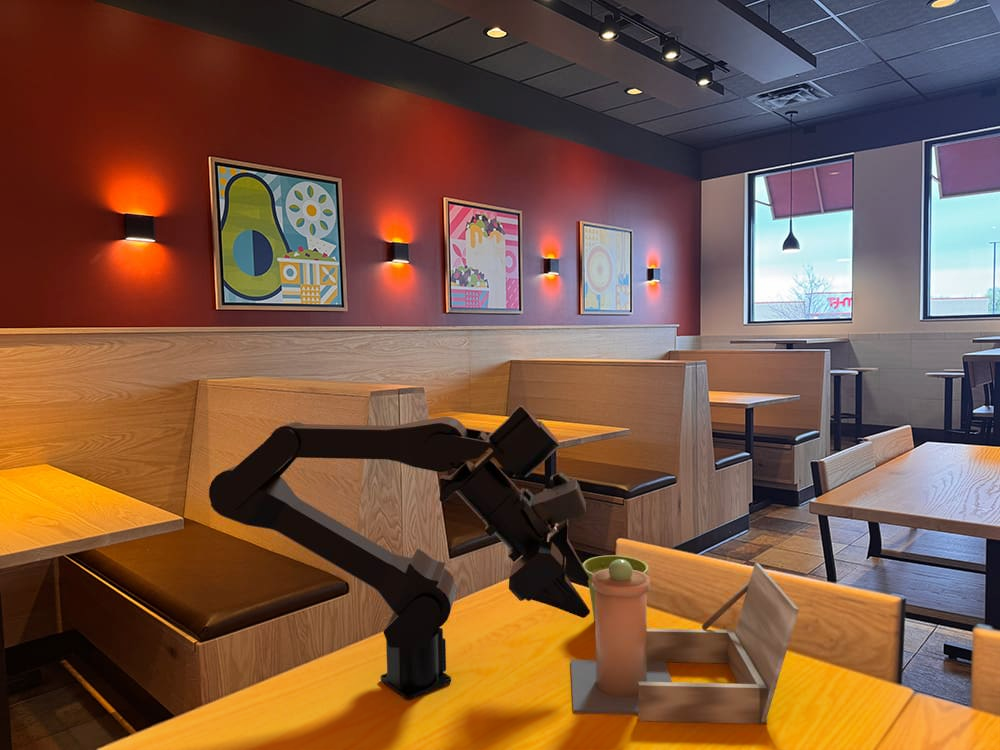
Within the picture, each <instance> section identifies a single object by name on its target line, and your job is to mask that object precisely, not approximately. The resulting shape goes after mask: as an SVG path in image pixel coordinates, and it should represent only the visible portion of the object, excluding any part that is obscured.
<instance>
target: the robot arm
mask: <svg viewBox="0 0 1000 750" xmlns="http://www.w3.org/2000/svg"><path fill="white" fill-rule="evenodd" d="M561 446H562V445H561V443H560V442H559V441H558V439H557V438H556V436H555V435H554V434H553V433H552V432H551V431H550V429H549V428H548V427H547V426H546V425H545V424H544V423H543V422H542V420H538V419H537V418H536V417H535V416H534V415H533V414H532V413H531V412H530V411H528V410H527V408H526V407H524V406H523V405H522V404H521V405H520V404H519V405H518V406H517V408H515V409H514V410H513V411H512V413H511V414H510V416H509V417H508V418H507V419H506V420H504V422H502V423H501V424H500V425H499V426H498V427H497V428H496V429H495V430H494V431H493V432H491V431H490V432H489V431H485V430H480V429H479V430H478V429H474V428H469V427H468V428H467V427H466V426H465V425H464V424H462V422H460V420H459V419H457V418H454V417H452V416H451V417H449V416H441V417H435V418H434V417H433V418H428V419H422V420H417V421H413V422H407V423H402V424H397V425H370V424H369V425H364V424H318V423H317V424H313V423H309V424H308V423H303V422H298V421H293V422H288V423H286V424H284V425H281V426H279V427H277V428H275V429H274V430H273V432H272V433H271V435H269V437H268V438H266V439H265V441H264V442H263V443H261V444H260V445H259V446H258V447H257V448H256V449H255V450H253V451H252V452H251V453H250V454H248V456H247V457H245V458H244V459H242V461H241V462H239V464H237V465H235V466H234V465H233V466H232V467H230V468H228V469H225V470H223V471H221V472H220V473H218V474H217V475H215V477H214V478H213V479H212V480H211V483H210V484H209V488H208V498H209V501H210V507H211V508H212V509H213V511H215V513H217V514H218V515H219V516H220V517H223V518H226V519H229V520H231V521H234V522H237V523H239V524H242V525H245V526H246V527H247V526H248V527H254V528H261V529H267V530H271V531H272V530H273V531H275V532H277V533H279V534H280V535H282V536H284V537H286V538H287V539H289V540H291V541H292V542H294V543H296V544H297V545H299V546H301V547H303V548H304V549H306V550H308V551H310V552H311V553H313V554H314V555H317V556H318V557H320V558H321V559H323V560H325V561H326V562H329V563H330V564H332V565H334V566H335V567H337V568H338V569H340V570H342V571H344V572H345V573H347V574H348V575H350V576H353V577H354V578H356V579H357V580H358V581H359V580H360V582H362V583H364V584H366V585H368V586H369V587H371V588H373V589H374V590H375V591H376V592H377V593H378V594H379V595H380V597H381V598H382V599H383V600H384V602H385V603H386V604H387V606H388V607H389V609H390V610H391V611H392V613H391V616H390V617H389V619H388V622H387V624H386V625H385V627H384V630H383V635H384V638H385V640H386V641H385V644H386V646H385V649H386V673H383V674H381V675H380V681H381V682H383V683H384V684H385V685H386V686H388V687H390V688H391V690H393V691H395V693H397V694H399V695H400V696H401V697H402V698H404V699H406V700H411V699H413V698H416V697H418V696H420V695H423V694H425V693H429V692H431V691H433V690H436V689H438V688H441V687H443V686H445V685H448V684H450V683H451V682H452V676H450V675H449V674H447V673H445V672H446V670H447V647H446V645H447V644H446V638H445V637H444V629H443V628H442V627H443V625H445V623H447V621H448V620H449V617H450V614H451V612H452V608H453V604H454V601H455V597H456V594H457V592H456V591H457V585H456V582H455V579H454V576H453V575H452V574H451V572H450V571H449V570H447V569H446V568H445V567H446V563H445V562H443V561H437V560H435V559H433V558H432V557H431V556H429V555H428V554H427V553H426V552H424V551H423V550H421V549H419V548H417V549H416V550H415V551H414V553H413V555H412V557H408V556H403V555H402V556H401V555H398V554H395V553H392V552H391V551H389V550H388V549H386V548H385V547H382V546H381V545H379V544H377V543H376V542H374V541H372V540H371V539H368V538H367V537H365V536H363V535H362V534H360V533H359V532H357V531H355V530H353V529H352V528H350V527H348V526H346V525H344V524H343V523H342V522H340V521H338V520H336V519H335V518H334V517H331V516H329V515H328V514H326V513H324V512H322V511H321V510H319V509H318V508H316V507H315V506H312V505H311V504H309V503H307V502H306V501H304V500H302V499H301V498H299V496H297V495H296V493H295V492H294V491H293V489H292V488H291V487H290V486H289V484H288V482H286V480H285V479H284V478H283V477H282V475H283V474H284V473H285V472H286V471H287V470H288V469H289V468H290V467H291V466H292V464H293V463H294V462H295V461H296V459H297V458H298V459H299V458H302V459H304V458H305V459H309V458H310V459H344V460H345V459H352V460H388V461H392V462H398V463H401V464H403V465H406V466H409V467H412V468H416V469H423V470H427V471H432V472H438V473H443V472H444V473H445V472H449V471H451V470H454V468H456V467H457V466H458V465H459V464H460V463H461V462H463V461H464V464H462V465H461V466H460V467H459V468H458V469H457V470H456V471H455V472H454V473H452V474H451V475H446V474H445V475H444V474H442V475H441V476H440V477H439V479H438V483H439V486H440V491H439V502H441V503H445V502H446V501H447V500H448V499H449V498H451V497H452V496H453V494H455V493H456V494H457V495H458V496H459V497H460V498H461V500H463V501H464V502H465V504H467V506H468V507H469V508H470V509H471V510H472V511H473V512H474V514H476V515H477V516H478V518H480V520H482V522H483V523H484V524H485V528H484V532H485V533H486V534H487V535H488V536H489V537H491V536H493V535H494V534H495V535H496V537H497V538H499V540H500V541H501V542H502V543H503V544H504V545H505V546H506V548H508V549H509V550H508V551H509V552H508V555H507V556H508V557H509V558H510V560H511V561H512V562H514V563H513V564H512V565H511V569H510V572H509V577H508V590H509V591H510V592H511V593H512V594H513V595H514V596H515V597H516V599H518V600H519V601H520V602H521V601H522V602H523V601H525V600H526V601H527V602H530V601H531V600H532V601H535V602H537V603H541V604H544V605H548V606H549V607H550V606H551V607H554V608H555V609H558V610H561V611H564V612H566V613H569V614H572V615H573V616H574V615H575V616H576V617H578V618H579V617H580V618H581V619H584V618H587V616H589V615H590V613H591V610H590V609H589V607H588V606H587V604H586V602H585V601H584V598H582V596H581V595H580V593H579V592H578V591H577V589H576V588H575V586H574V585H573V583H572V582H571V580H570V579H569V578H568V577H571V578H572V579H573V580H574V581H575V580H576V581H577V582H579V583H581V584H586V583H588V580H589V576H588V574H587V572H586V570H585V568H584V567H583V565H582V564H583V562H582V561H581V560H580V557H579V556H578V555H577V552H576V551H575V549H574V547H573V545H572V543H571V542H570V540H569V537H568V533H569V519H572V518H574V519H577V518H580V517H581V516H585V514H586V513H587V502H586V500H585V497H584V495H583V492H582V490H581V485H580V483H579V482H578V480H577V479H575V478H574V477H572V478H571V479H570V478H569V477H567V475H565V474H564V473H563V472H561V471H560V472H558V473H555V474H553V475H551V476H550V478H549V487H548V488H546V487H545V488H544V489H543V490H542V491H541V492H539V493H536V494H533V493H532V492H531V491H530V489H528V488H525V487H522V488H521V489H520V488H518V487H517V485H516V484H515V483H514V482H513V481H512V480H511V479H510V478H509V477H508V476H507V475H506V474H505V473H504V472H503V471H502V469H501V468H503V470H505V472H507V473H508V474H509V475H510V476H511V477H513V478H514V477H519V476H520V475H521V476H523V477H524V478H527V477H528V476H529V475H531V474H532V473H533V471H534V470H536V469H537V468H538V467H539V466H541V465H542V463H544V462H545V461H546V460H547V459H548V458H549V457H550V456H551V455H552V454H553V453H554V452H556V451H557V450H558V449H559V448H560V447H561ZM489 449H491V450H489ZM488 450H489V452H487V451H488ZM486 452H487V453H486ZM485 453H486V454H485ZM483 454H485V455H484V456H483V457H481V456H482V455H483ZM480 457H481V458H480ZM479 458H480V459H479ZM493 458H494V459H495V460H496V461H497V463H498V464H499V466H501V468H500V467H499V466H498V465H497V464H496V463H495V462H494V461H493ZM475 459H476V460H477V459H479V460H478V461H477V462H476V463H473V462H472V461H469V460H475Z"/></svg>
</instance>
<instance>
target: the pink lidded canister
mask: <svg viewBox="0 0 1000 750" xmlns="http://www.w3.org/2000/svg"><path fill="white" fill-rule="evenodd" d="M592 587H593V589H594V590H595V616H596V623H595V660H596V685H597V687H598V688H599V689H600V690H601V691H602V692H604V693H606V694H609V695H612V696H616V697H633V696H637V695H638V682H647V629H648V628H647V627H648V626H647V624H648V623H647V622H648V621H647V619H648V618H647V616H648V615H647V614H648V613H647V611H648V609H647V605H648V604H647V603H648V602H647V601H648V600H647V593H649V592H650V590H651V578H650V576H649V575H648V574H647V573H646V574H645V573H643V572H640V571H637V570H632V567H631V565H630V563H629V562H627V561H626V560H623V559H617V560H615V561H613V562H612V563H611V564H610V567H609V569H603V570H600V571H597V572H595V573H594V574H593V575H592Z"/></svg>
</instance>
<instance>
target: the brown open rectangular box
mask: <svg viewBox="0 0 1000 750" xmlns="http://www.w3.org/2000/svg"><path fill="white" fill-rule="evenodd" d="M753 565H754V566H753V569H752V572H751V575H750V579H749V581H748V582H747V583H745V584H744V585H743V586H742V587H741V588H740V589H739V590H738V591H737V592H736V593H735V594H733V596H732V597H731V598H730V599H728V601H726V602H725V603H724V604H723V605H722V606H721V607H720V608H719V609H718V610H717V611H716V612H715V613H713V614H712V616H710V617H709V618H708V619H707V620H706V621H705V622H704V623H703V624H702V625H701V629H696V628H695V629H693V628H692V629H688V628H687V629H686V628H685V629H684V628H679V629H678V628H677V629H676V628H647V661H663V662H666V663H695V664H697V663H700V664H701V663H702V664H703V663H704V664H705V663H706V664H727V665H728V667H729V669H730V671H731V672H732V675H733V677H734V679H735V680H736V682H737V683H716V682H714V683H713V682H710V683H709V682H675V681H674V682H673V681H672V682H638V714H637V716H638V721H639V722H670V723H671V722H673V723H674V722H675V723H676V722H677V723H679V722H680V723H706V724H707V723H709V724H710V723H711V724H712V723H713V724H714V723H715V724H743V725H745V724H746V725H747V724H748V725H749V724H751V725H752V724H753V725H755V724H757V725H767V723H768V722H767V721H768V715H769V712H770V708H771V704H772V702H773V699H774V695H775V692H776V688H777V686H778V685H777V684H778V683H779V677H780V675H781V672H782V669H783V665H784V663H785V658H786V655H787V651H788V647H789V644H790V641H791V639H792V638H791V637H792V634H793V630H794V627H795V625H796V621H797V618H798V615H799V608H798V606H797V605H796V604H795V603H794V602H793V601H792V600H791V598H789V596H788V595H787V594H786V593H785V592H784V590H782V588H781V587H780V586H779V585H778V584H777V582H775V580H774V579H773V578H772V576H771V575H769V573H768V572H767V571H766V570H765V569H764V567H762V565H761V564H760V563H758V562H754V564H753ZM742 596H745V597H744V600H743V603H742V606H741V610H740V613H739V618H738V621H737V625H736V628H735V631H734V630H733V629H709V628H710V627H711V626H712V625H713V624H714V623H715V622H716V621H718V619H720V617H721V616H723V615H724V614H725V613H726V612H727V611H728V610H729V609H730V608H731V607H732V606H733V605H734V604H735V603H736V602H737V601H738V600H739V599H741V598H742Z"/></svg>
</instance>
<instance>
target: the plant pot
mask: <svg viewBox="0 0 1000 750" xmlns="http://www.w3.org/2000/svg"><path fill="white" fill-rule="evenodd" d="M617 559H623V560H626V561H627V562H629V563H630V565H631V567H632V570H637V571H640V572H643V573H645V574H646V575H647V574H648V572H649V565H648V564H647V563H646V562H645V561H643V560H641V559H638V558H634V557H631V556H624V555H614V554H613V555H611V554H610V555H601V556H600V555H599V556H594V557H590V558H588V559H585V561H584V562H582V565H583V567H584V568H585V570H586V572H587V574H588V576H589V580H588V581H587V583H588V589H589V594H590V596H589V597H590V600H591V601H590V603H591V609H592V615H593V621H594V623H595V624H596V616H595V590H594V589H593V587H592V575H593V574H594V573H595V572H597V571H600V570H603V569H609V567H610V564H611V563H612V562H613V561H615V560H617Z"/></svg>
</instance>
